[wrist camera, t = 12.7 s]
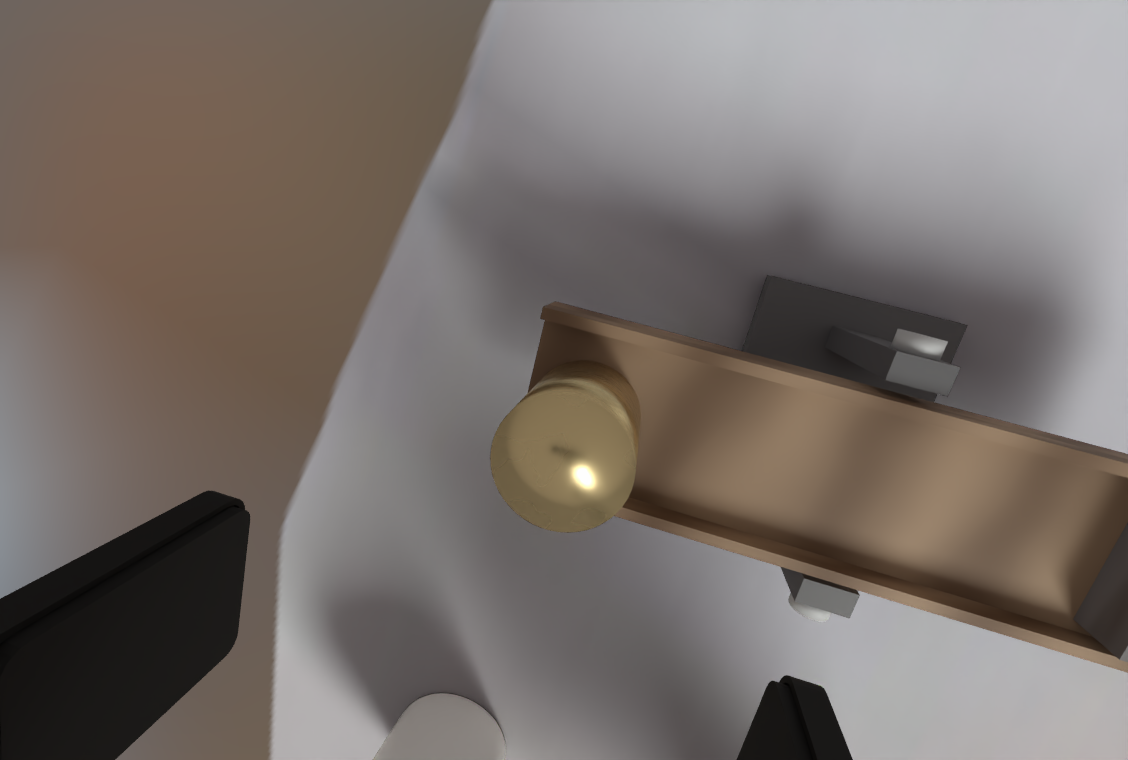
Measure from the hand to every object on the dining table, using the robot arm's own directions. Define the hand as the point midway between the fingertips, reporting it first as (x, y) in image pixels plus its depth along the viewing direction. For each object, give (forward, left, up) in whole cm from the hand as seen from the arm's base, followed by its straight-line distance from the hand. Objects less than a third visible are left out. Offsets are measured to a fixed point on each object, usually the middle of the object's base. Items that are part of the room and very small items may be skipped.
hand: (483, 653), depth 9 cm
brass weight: (0, 0, -16) cm, 16 cm away
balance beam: (-7, -10, -16) cm, 20 cm away
